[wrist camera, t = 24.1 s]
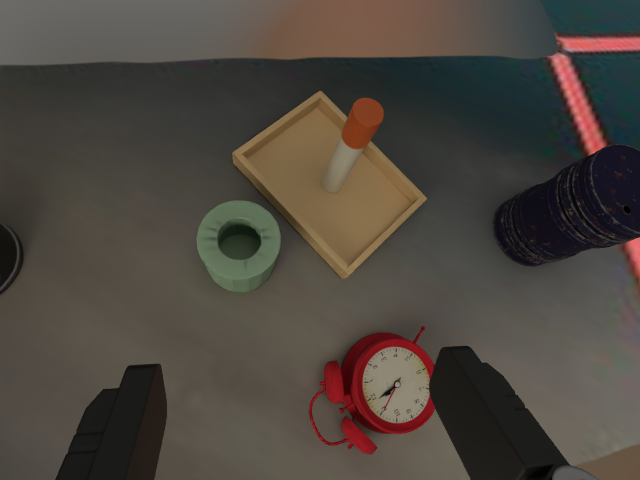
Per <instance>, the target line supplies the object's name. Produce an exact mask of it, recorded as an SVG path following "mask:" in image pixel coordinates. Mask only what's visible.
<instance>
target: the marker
mask: <svg viewBox="0 0 640 480" xmlns="http://www.w3.org/2000/svg"><path fill="white" fill-rule="evenodd" d="M383 118H384V111H383V108H382V107H381V105H380V104H379V103H378V102H377V101H375V100H373V99H371V98H361V99H358V100H357V101H356V102H355V103H354V104H353V106H352V109H351V111H350V113H349V116H348V118H347V120H346V122H345V125H344V127H343V129H342V132H341V137H340V140H339V142H338V144H337V146H336V149H335V151H334V153H333V155H332V158H331V160H330V162H329V164H328V166H327V169H326V171H325V173H324V175H323V178H322V180H321V185H322V188H323V189H324V190H325V191H326V192H328V193H336V192H338V191H339V190H340V188H341V186H342V185H343V183H344V181H345V180H346V178H347V176H348V175H349V173H350V171H351V170H352V168H353V166H354V164H355V163H356V161H357V159H358V158H359V156H360V154H361V153H362V151H363V149H364V148H365V147H366V146H367V145H368V144H369V142H370V140H371V139H372V137H373V135H374V134H375V132H376V130H377V129H378V127H379V125H380V124H381V122H382V120H383Z"/></svg>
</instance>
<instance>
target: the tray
mask: <svg viewBox="0 0 640 480" xmlns="http://www.w3.org/2000/svg"><path fill="white" fill-rule="evenodd" d="M346 120H347V117H346V116H345V115H344V114H343V113H342V112H341V111H340V110H339V109H338V108H337V106H336V105H335V104H334V103H333V102H332V101H331V100H330V99H329V98H328V97H327V96H326V95H324V93H323V92H322V91H319V92H317V93H316V94H314V95H313V96H312V97H310V98H309V99H307V100H306V101H305V102H303V103H302V104H300V105H299V106H298V107H296V108H295V109H293V110H292V111H291V112H289V113H288V114H286V115H285V116H284V117H282V118H281V119H279V120H278V121H276V122H275V123H274V124H272V125H271V126H269V127H268V128H267V129H265V130H264V131H262V132H261V133H260V134H258V135H257V136H255V137H254V138H253V139H251V140H250V141H248V142H247V143H245V144H244V145H243V146H241V147H240V148H238V149H237V150H236V151H234V152H233V163H234V165H235V166H236V167H237V168H238V169H239V170H240V171H241V172H242V173H243V174H244V175H245V176H246V177H247V178H248V179H249V180H250V181H251V183H252V184H253V185H254V186H255V187H256V188H257V189H258V190H259V191H260V192H261V193H262V194H263V195H264V196H265V197H266V198H267V200H268V201H269V202H270V203H271V204H272V205H273V206H274V207H275V208H276V209H277V210H278V211H279V212H280V213H281V214H282V215H283V216H284V218H285V219H286V220H287V221H288V222H289V223H290V224H291V225H292V226H293V227H294V228H295V229H296V230H297V231H298V232H299V233H300V235H301V236H302V237H303V238H304V239H305V240H306V241H307V242H308V243H309V244H310V245H311V246H312V247H313V248H314V249H315V250H316V251H317V253H318V254H319V255H320V256H321V257H322V258H323V259H324V260H325V261H326V262H327V263H328V264H329V265H330V266H331V267H332V268H333V269H334V271H335V272H336V273H337V274H338V275H339V276H340V277H341V278H342V279H345V278H346V277H348V276H349V275H350V274H351V273H352V272H353V271H354V270H355V269H356V268H357V267H358V266H359V265H360V264H361V263H362V262H363V261H364V260H365V259H366V258H368V257H369V256H370V255H371V254H372V253H373V252H374V251H375V250H376V249H377V248H378V247H379V246H380V245H381V244H382V243H383V242H384V241H385V240H386V239H387V238H388V237H389V236H390V235H391V234H392V233H393V232H394V231H395V230H396V229H397V228H398V227H399V226H400V225H401V224H402V223H403V222H404V221H405V220H406V219H407V218H408V217H409V216H410V215H411V214H412V213H413V212H414V211H415V210H416V209H417V208H418V207H419V206H420V205H422V204H423V203H424V202H425V201H426V200H427V198H426V197H425V196H424V195H423V193H422V192H421V191H420V190H419V189H418V188H417V187H416V186H415V185H414V184H413V183H412V182H411V181H410V180H409V179H408V178H407V177H406V176H405V175H404V174H403V173H402V172H401V171H400V170H399V169H398V168H397V167H396V166H395V165H394V164H393V163H392V162H391V161H390V160H389V159H388V158H387V157H386V156H385V155H384V154H383V153H382V152H381V151H380V150H379V149H378V148H377V147H376V146H375V145H374V144H373V143H372V142H371V141H370V142H369V144H368V145H367V146H366V147H365V148H364V149H363V151H362V153H361V154H360V156H359V158H358V159H357V161H356V163H355V164H354V166H353V168H352V170H351V171H350V173H349V175H348V176H347V178H346V180H345V181H344V183H343V185H342V186H341V188H340V190H339V191H338V192H336V193H328V192H326V191H325V190H324V189H323V188H322V185H321V180H322V178H323V175H324V173H325V171H326V169H327V166H328V164H329V162H330V160H331V158H332V155H333V153H334V151H335V149H336V146H337V144H338V142H339V140H340V137H341V132H342V129H343V127H344V125H345V122H346Z"/></svg>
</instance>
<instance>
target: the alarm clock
mask: <svg viewBox="0 0 640 480" xmlns="http://www.w3.org/2000/svg"><path fill="white" fill-rule="evenodd" d="M423 330H425V327H424V326H422V327H421V330H420V332H419V333H418V335H417V336H416V338H415V339H414V341H413V342H411V341H409V340H407V339H405V338H403V337H401V336H399V335H396V334H392V333H376V334H372V335H369V336H367V337H364V338H363V339H361V340H360V341H358V342H357V343H356V344H355V345H354V346H353V347H352V348H351V349H350V351H349V352H348V354H347V356H346V358H345V360H344V362H343V365H342V369H340V366H339V363H338V362H337V361H330V362H328V363H327V364H326V366H325V368H324V382H320V385H324V387H323V389H322V390H320V391H319V392H318V393H317V394H316V395H315V396H314V397H313V399H312V400H311V403H310V407H309V414H310V419H311V422H312V425H313V428H314V430H315V432H316V433H317V435H318V437H319V438H320V439H321V440H322V441H323V442H324V443H325V444H328V445H333V446H334V445H338V444H341V443H344V442H346V441H349V442H351V443H350V444H349V446H348V448H349V449H350V448H351V447H352V446H353V445H355V446H356V447H357V448H358V449H359V450H361V451H362V452H363V453H366V454H372V453H373V452H375V450H376V449H377V447H376V445H375V444H374V443H373V442H372V441H371V440H370V439H369V438H368V437H367V436H366V435H365V434H364V433H363V432H362V431H361V430H360V429H359V428H358V427H357V426H356V425H355V424H354V423H353V422H352V421H353V420H354V419H356V420H357V421H358V422H359V423H360V424H362V425H363V426H364V427H366V428H368V429H370V430H372V431H375V432H379V433H387V434H389V433H393V434H402V433H407V432H410V431H413V430H415V429H417V428H419V427H420V426H422V425H423V424H424V423H425V422H426V421H427V420H428V419H429V418H430V417H431V415H432V414H433V412H434V410H435V407H434V405H433V403H432V400H431V397H430V393H429V381H430V378H431V375H432V372H433V369H434V364H433V362H432V360H431V359H430V357H429V356H428V355H427V353H426V352H425V351H424V350H423V349H422V348H420V347H419V346H418V345H416V344H415V343H416V342H417V340H418V338H419V336H420V334H421V333H422V331H423ZM324 390H325V391H326V395H327V397H328V398H329V400H330V401H331V402H333V403H342V401H343V400H344V403H345V405H346V407H345V408H343V409H342V408H340V409H339V410H340V412H341V414H342V413H343V411H344V410H345V409H348V411H349V412H350V414H351V415H352V416H353V417H354V418H353V419H352V420H350V419H349V418H348V417H346V416H345V417H344V419H343V420H342V423H341V427H342V430H343V432H344V434H345V435H346V437H347V438H348V439H344V440H341V441H339V442H335V443H330V442H328V441H326V440H325V439H324V438H323V437H322V436H321V435H320V433H319V432H318V430H317V428H316V426H315V423H314V421H313V417H312V405H313V402H314V400H315V399H316V398H317V396H318V395H319V394H321V393H322V392H323V391H324Z"/></svg>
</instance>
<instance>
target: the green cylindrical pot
mask: <svg viewBox="0 0 640 480" xmlns="http://www.w3.org/2000/svg"><path fill="white" fill-rule="evenodd" d="M196 242H197V248H198V253H199V255H200V257H201V259H202V261H203V263H204V265H205V267H206V269H207V271H208V272H209V274H210V276H211V277H212V279H213V280H214V281H215V282H216V283H217V284H218V285H219V286H221V287H222V288H224V289H226V290H229V291H232V292H248V291H251V290H254V289H256V288H258V287H259V286H261V285H262V284H263V283H264V282H265V281H266V280H267V279H268V278H269V276H270V275H271V273H272V271H273V269H274V266H275V263H276V260H277V257H278V254H279V251H280V244H281V235H280V230H279V226H278V224H277V222H276V221H275V219H274V218H273V216H272V214H270V212H268V211H267V210H266V209H264V208H263V207H262V206H260V205H258V204H255V203H252V202H249V201H229V202H226V203H223V204H220V205H218V206H216V207H215V208H214V209H212V210H211V211H210V212H208V213H207V214H206V216H205V217H204V219H203V220H202V222H201V223H200V225H199V228H198V233H197V238H196Z"/></svg>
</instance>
